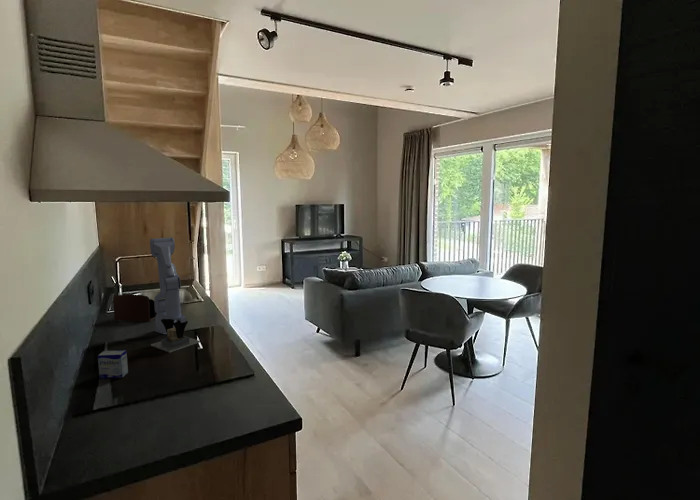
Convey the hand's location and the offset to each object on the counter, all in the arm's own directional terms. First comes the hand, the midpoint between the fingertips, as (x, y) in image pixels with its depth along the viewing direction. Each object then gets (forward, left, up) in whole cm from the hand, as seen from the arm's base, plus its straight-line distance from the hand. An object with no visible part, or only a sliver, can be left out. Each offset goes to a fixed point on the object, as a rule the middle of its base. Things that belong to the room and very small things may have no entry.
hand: (175, 336), depth 169 cm
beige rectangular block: (0, 0, -3) cm, 3 cm away
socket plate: (0, 0, -3) cm, 3 cm away
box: (+11, -30, -4) cm, 32 cm away
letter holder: (-52, +11, -4) cm, 54 cm away
